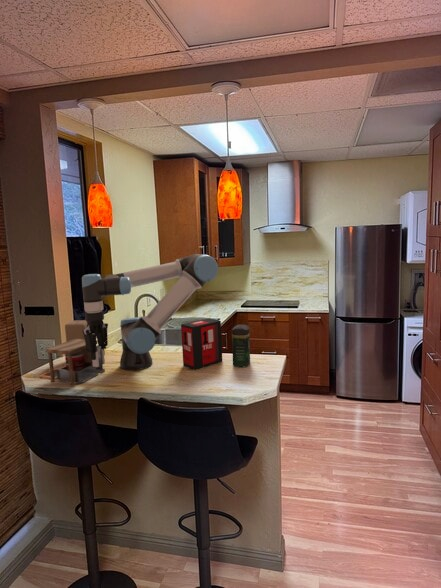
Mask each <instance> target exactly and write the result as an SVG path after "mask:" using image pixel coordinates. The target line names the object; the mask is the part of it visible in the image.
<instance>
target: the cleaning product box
mask: <svg viewBox="0 0 441 588" xmlns="http://www.w3.org/2000/svg"><path fill="white" fill-rule="evenodd" d="M180 331H181V345H182V346H181V348H182V350H181V351H182V362H183V363H182V365H183V367H185V368H187V369H190V370H193V371H197V370H200V369H204V368H207V367H211V366H214V365H216V364H219V363H223V344H222V343H223V342H222V341H223V339H222V321H221V320H218V319H214V318H209V317H207V318H204V319H200V320H195V321H190V322H186V323H181V324H180Z"/></svg>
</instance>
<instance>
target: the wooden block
mask: <svg viewBox="0 0 441 588" xmlns="http://www.w3.org/2000/svg"><path fill="white" fill-rule="evenodd" d="M86 328H87V321H86V320H85V319H83V320H81V319H79V320H75V319H74V320H72V321H70V322H68V323H66V324H65V325H64V330H65V342H67V341H70V340H73V339H83V340H85V338H84V334H83V332H82V330H85V329H86Z"/></svg>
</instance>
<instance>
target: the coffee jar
mask: <svg viewBox="0 0 441 588" xmlns="http://www.w3.org/2000/svg"><path fill="white" fill-rule="evenodd" d="M250 334H251V333H250V327H249V325H247V324H237V325H235V326H234V327H233V328H231V340H232V341H231V343H232V344H231V345H232V346H231V348H232V366H233V367H236V368H239V369H240V368H246V367H249V366H250V364H251V343H250V342H251V339H250V336H251V335H250Z"/></svg>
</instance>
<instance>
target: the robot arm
mask: <svg viewBox="0 0 441 588" xmlns="http://www.w3.org/2000/svg"><path fill="white" fill-rule="evenodd" d="M218 272H219V265H218V263H217V261H216V259H215V258H214V257H212V256H211V255H208V254H199V253H195V254H194V253H193V254H191V255H188V256H185V257H181V258H177V259H175V261H172V262H167V263H163V264H162V263H161V264H158V265H157V264H156V265H153V266H148V267H143V268H140V269H135V270H130V271H124V272H120V273H116V274H114V273H112V274H111V273H110V274H108V275H106V276H105V278H103V277H102V275H101V274H99V273H88V274H84V275H82V277H81V285H82V286H81V289H82V295H83V297H82V298H83V299H82V300H83V305H84V307H83V308H84V312H85V313H84V317H85V318H84V320H86V321H87V328H86V329H85V330H82V332H83V334H84V338H85V344H86V350H87V352H91V359H92V362H93V367H99V360H98V352H96V346H97V345H100V346H101V353H102V364H103V365H105V364H106V362H105V360H106V359H105V354H106V353H105V350H106V349H107V346H108V345H109V344H108V343H109V342H108V341H109V340H108V339H109V338H108V326H109V323H105V322H104V321H103V320H105V314H104V312H105V311H103V310H104V302H103V297H107V296H124V295H129V294H130V293H131V291H132V288H135V287H136V288H137V287H140V286H143V285H144V286H145V285H149V284H154V283H158V282H163V281H167V280H171V279H176V278H178V280H177V282H175V284H174V285H173V286H172V287H171V288H170V289H169V290H168V291H167V293H166V294H165V295H164V296H163V297H162V298H161V299H160V300H159V301H158V302H157V303H156V305H155V306H154V307H153V308H152V309H151V310H150V311H149V312H148V313H147V315H145V316H139V317H138V316H137V317H136V316H135V317H128V318H123V319H121V320H120V327H119V328H120V333H121V345H122V352H121V353H122V354H121V356H120V362H119V367H120V369H121V370H125V371H140V370H144V369H147V368H150V367H151V366H153V358H152V355H151V353H150V352H151V351H152V350H153V348H154V347H155V344H156V340H157V339H158V338H159V337H160V336H161V334H162V331H161V330H162V328H163V327H164V326H165V325H166V324H167V322H168V321H170V319H171V318H172V317H173V316H174V315H175V313H176V312H177V311H178V310H179V309H180V308H181V307H182V306H183V304H184V303H185V302H186V301H188V299H189V298H190V297H191V296H192V294H194V293H195V291H196V290H198V289H202V288H203V287H204V286H205V285H206V284H207V283H209V282H211V281H213V280H214V279H215V278H216V277H217V275H218V274H219V273H218ZM96 341H97V344H96Z"/></svg>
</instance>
